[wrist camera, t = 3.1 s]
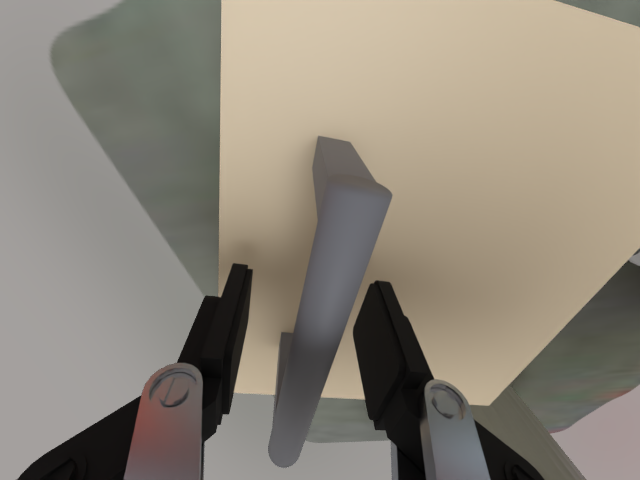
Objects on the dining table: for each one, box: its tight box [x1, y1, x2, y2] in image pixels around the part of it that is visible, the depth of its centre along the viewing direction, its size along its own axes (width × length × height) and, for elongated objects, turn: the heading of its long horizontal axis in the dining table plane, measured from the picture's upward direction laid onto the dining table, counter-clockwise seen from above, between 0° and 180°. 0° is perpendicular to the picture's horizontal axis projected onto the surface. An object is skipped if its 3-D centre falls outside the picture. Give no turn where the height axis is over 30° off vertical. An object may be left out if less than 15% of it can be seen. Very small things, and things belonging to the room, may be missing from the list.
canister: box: [469, 385, 586, 480], centre depth 30 cm, size 18×18×21 cm
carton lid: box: [218, 0, 640, 468], centre depth 12 cm, size 20×22×6 cm
